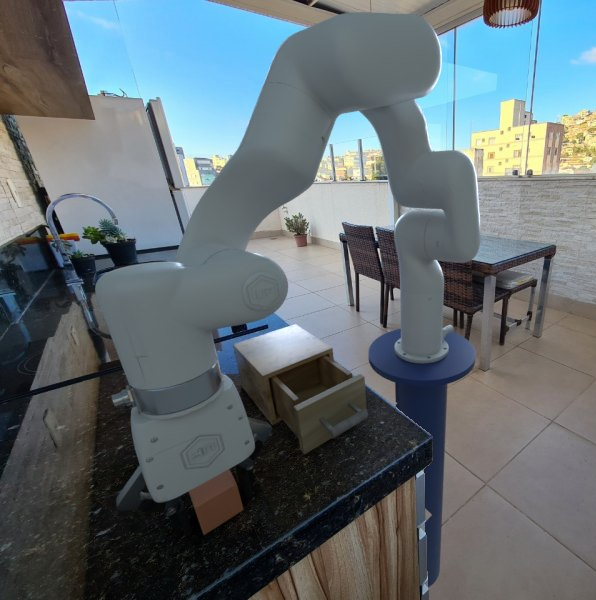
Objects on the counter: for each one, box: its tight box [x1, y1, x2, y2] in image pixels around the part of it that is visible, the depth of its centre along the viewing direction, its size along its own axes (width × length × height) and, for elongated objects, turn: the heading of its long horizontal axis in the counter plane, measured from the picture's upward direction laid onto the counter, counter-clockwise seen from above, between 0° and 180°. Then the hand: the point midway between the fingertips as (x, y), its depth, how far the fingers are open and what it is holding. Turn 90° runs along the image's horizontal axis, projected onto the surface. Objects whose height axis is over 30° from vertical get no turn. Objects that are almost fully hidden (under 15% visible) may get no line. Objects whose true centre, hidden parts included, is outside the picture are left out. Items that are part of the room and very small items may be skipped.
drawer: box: [268, 355, 369, 455], centre depth 51 cm, size 18×11×8 cm, turn 43°
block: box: [187, 469, 244, 536], centre depth 38 cm, size 4×4×4 cm
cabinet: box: [232, 323, 335, 426], centre depth 60 cm, size 15×13×10 cm
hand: (218, 505), depth 39 cm, fingers open, 6 cm apart
